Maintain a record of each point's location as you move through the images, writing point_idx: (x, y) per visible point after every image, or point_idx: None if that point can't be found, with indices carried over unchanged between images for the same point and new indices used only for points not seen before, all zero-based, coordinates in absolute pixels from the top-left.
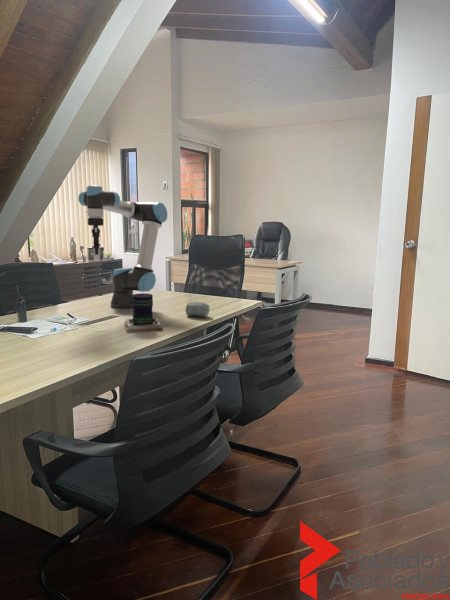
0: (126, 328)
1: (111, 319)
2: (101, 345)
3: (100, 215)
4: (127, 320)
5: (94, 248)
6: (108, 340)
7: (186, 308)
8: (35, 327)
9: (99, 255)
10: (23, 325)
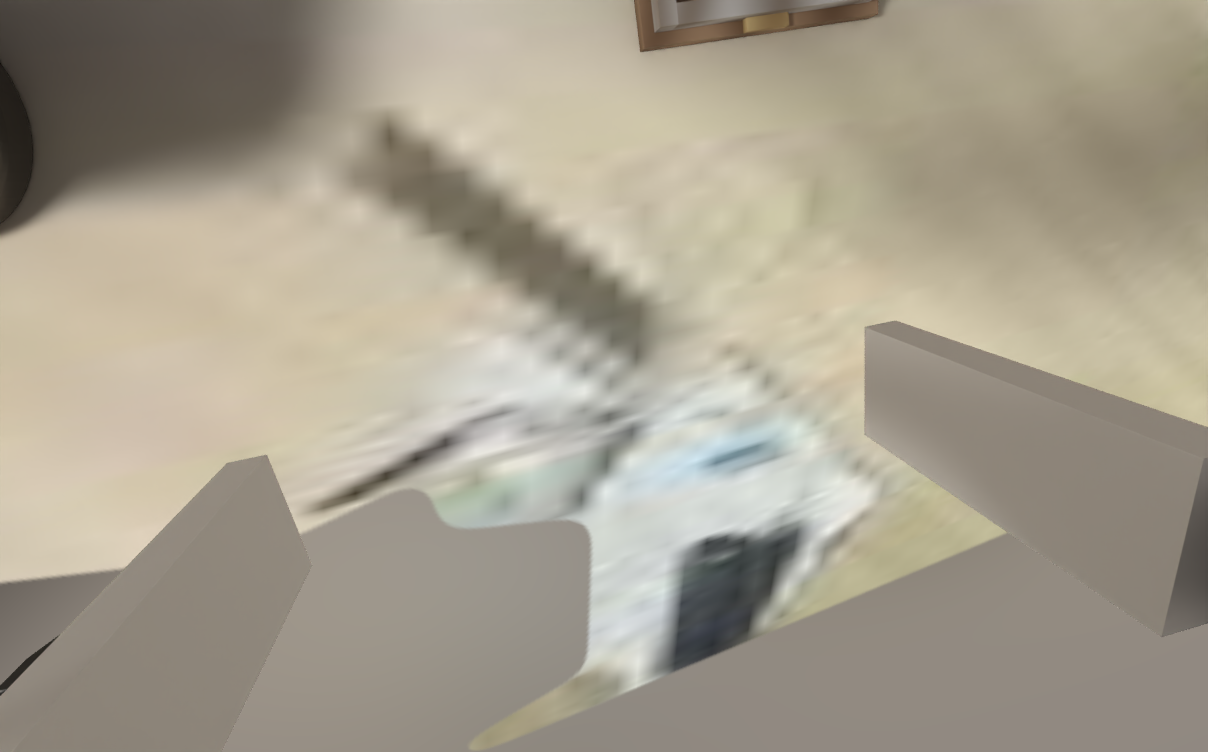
0: (835, 20)
1: (498, 170)
2: (1075, 152)
3: None
4: (710, 12)
5: (1198, 588)
6: (1002, 125)
7: None
8: (687, 555)
9: (1000, 358)
10: (642, 620)
